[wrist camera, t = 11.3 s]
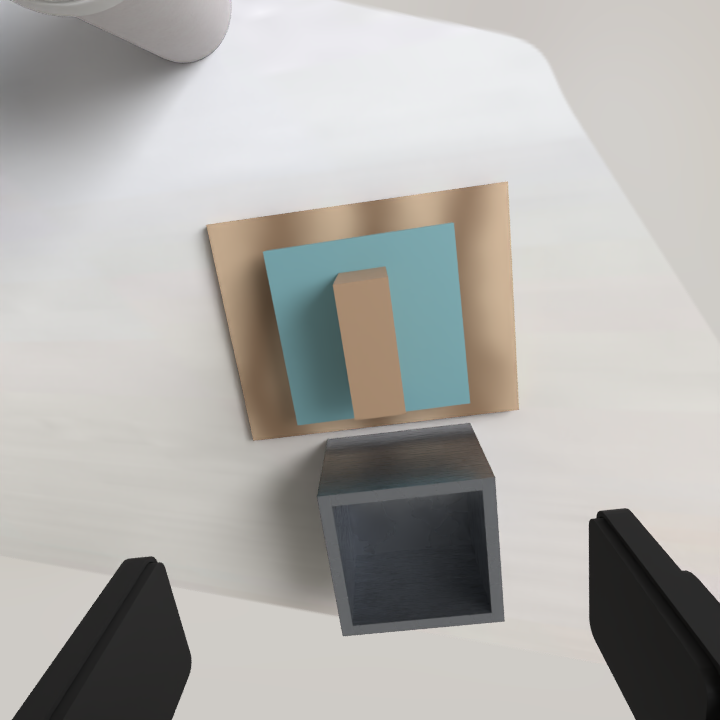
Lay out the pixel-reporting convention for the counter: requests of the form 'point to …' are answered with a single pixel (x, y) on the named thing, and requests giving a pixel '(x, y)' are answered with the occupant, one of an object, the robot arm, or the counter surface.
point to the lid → (371, 324)
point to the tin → (411, 530)
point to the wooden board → (460, 206)
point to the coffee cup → (151, 22)
